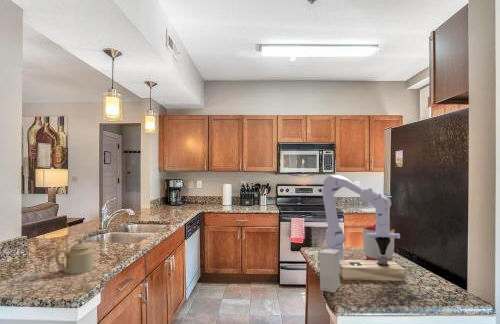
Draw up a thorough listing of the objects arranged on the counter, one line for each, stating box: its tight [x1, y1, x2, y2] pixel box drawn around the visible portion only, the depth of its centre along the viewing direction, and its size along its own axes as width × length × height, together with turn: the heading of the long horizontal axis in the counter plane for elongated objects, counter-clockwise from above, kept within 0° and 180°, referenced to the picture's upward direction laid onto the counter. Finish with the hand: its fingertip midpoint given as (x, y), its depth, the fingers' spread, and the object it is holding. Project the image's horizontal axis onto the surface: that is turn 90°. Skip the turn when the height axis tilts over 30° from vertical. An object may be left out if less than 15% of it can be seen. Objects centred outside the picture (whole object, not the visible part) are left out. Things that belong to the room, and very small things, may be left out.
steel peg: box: [378, 255, 388, 266], centre depth 140 cm, size 4×4×5 cm
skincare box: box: [319, 248, 341, 294], centre depth 125 cm, size 8×6×15 cm
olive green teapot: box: [54, 237, 94, 275], centre depth 144 cm, size 15×11×15 cm
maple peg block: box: [339, 259, 406, 282], centre depth 140 cm, size 12×26×5 cm, turn 89°
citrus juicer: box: [362, 223, 396, 261], centre depth 164 cm, size 16×17×20 cm
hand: (382, 254), depth 140 cm, fingers closed
